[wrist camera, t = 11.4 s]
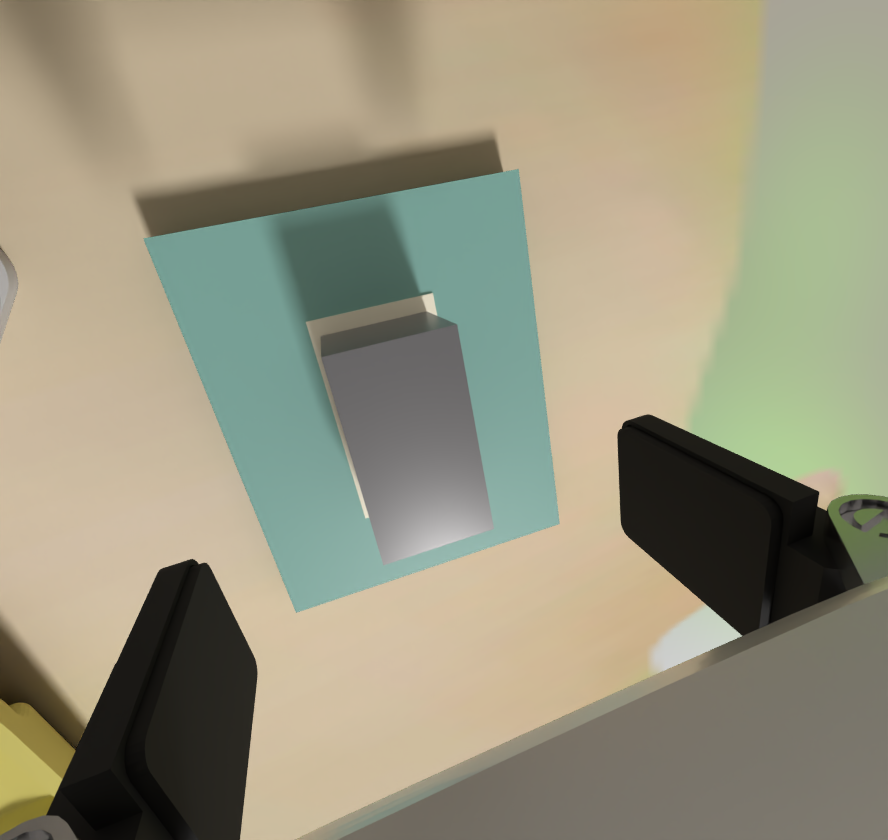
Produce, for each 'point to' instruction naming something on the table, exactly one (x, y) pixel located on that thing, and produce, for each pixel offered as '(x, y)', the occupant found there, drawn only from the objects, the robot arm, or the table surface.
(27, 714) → the plastic component
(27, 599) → the table surface
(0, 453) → the table surface
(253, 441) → the board
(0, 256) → the phone holder
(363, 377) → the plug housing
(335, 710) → the table surface
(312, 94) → the table surface
